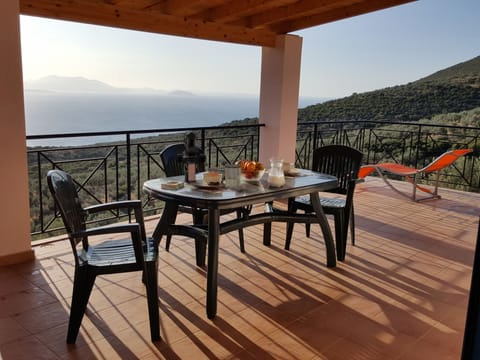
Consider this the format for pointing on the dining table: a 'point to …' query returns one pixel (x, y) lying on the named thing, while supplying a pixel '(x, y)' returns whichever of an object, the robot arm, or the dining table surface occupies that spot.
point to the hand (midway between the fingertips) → (191, 169)
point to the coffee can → (232, 175)
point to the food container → (218, 171)
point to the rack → (172, 185)
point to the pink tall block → (191, 172)
